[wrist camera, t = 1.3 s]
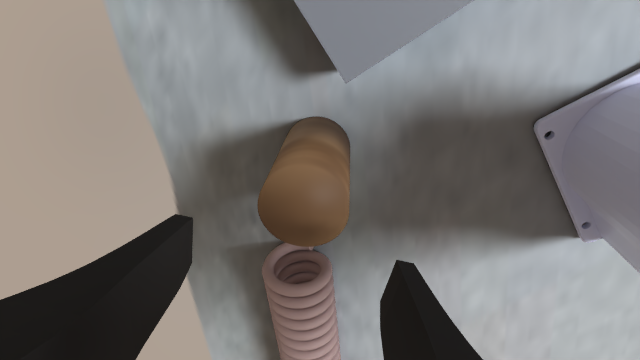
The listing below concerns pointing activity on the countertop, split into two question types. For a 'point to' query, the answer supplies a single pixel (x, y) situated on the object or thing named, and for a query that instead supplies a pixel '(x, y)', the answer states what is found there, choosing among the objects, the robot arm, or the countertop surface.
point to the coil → (302, 303)
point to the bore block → (371, 27)
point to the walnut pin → (308, 185)
